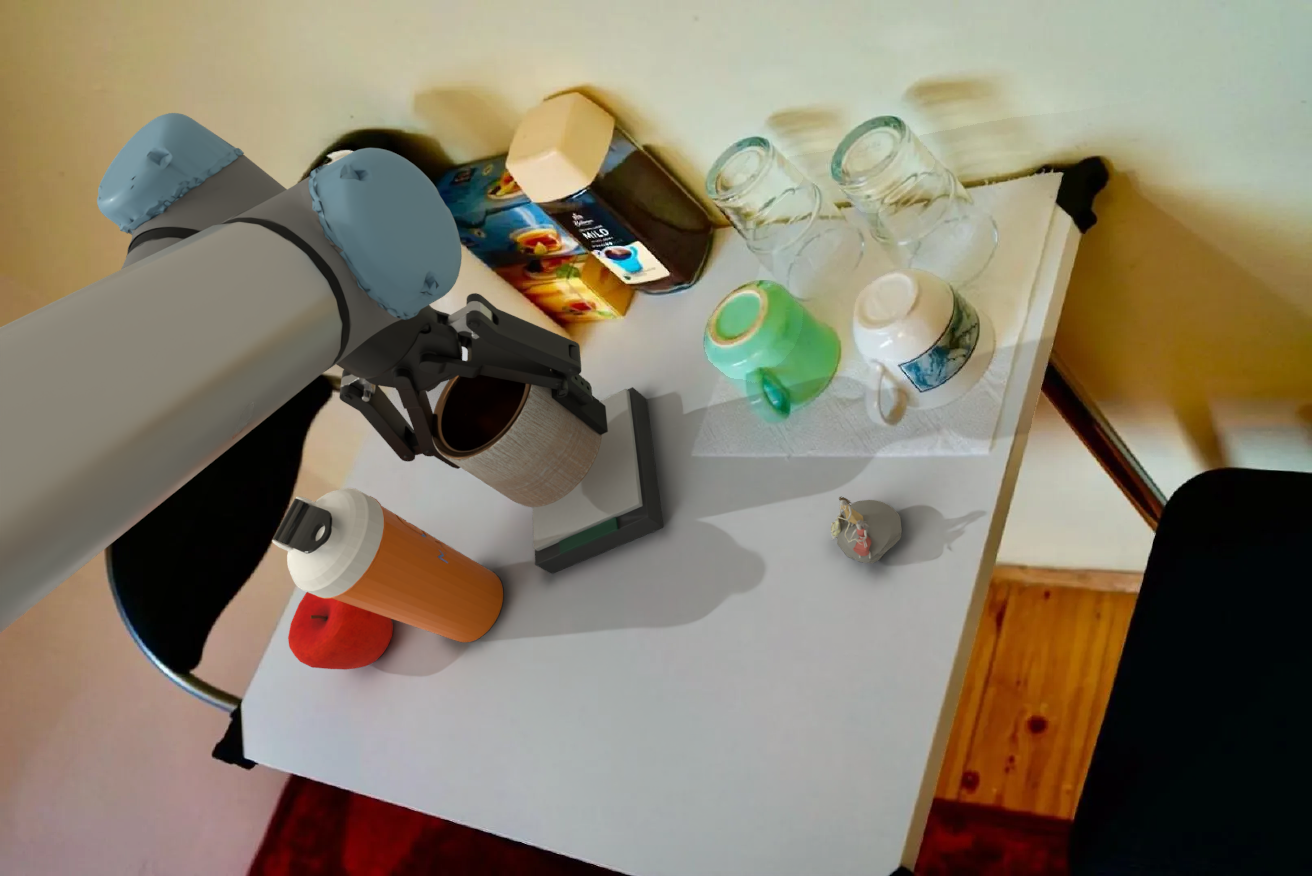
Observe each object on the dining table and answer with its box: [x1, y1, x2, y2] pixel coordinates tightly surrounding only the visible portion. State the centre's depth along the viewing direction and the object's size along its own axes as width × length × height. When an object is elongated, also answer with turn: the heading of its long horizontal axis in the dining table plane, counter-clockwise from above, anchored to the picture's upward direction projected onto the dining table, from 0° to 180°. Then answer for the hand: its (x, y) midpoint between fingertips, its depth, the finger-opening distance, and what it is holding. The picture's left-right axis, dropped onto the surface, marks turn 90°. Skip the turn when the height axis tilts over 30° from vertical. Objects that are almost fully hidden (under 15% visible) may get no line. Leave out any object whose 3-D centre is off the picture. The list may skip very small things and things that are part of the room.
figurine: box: [830, 495, 903, 564], centre depth 62 cm, size 5×4×6 cm
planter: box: [432, 369, 602, 508], centre depth 74 cm, size 11×11×10 cm
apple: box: [287, 591, 394, 671], centre depth 87 cm, size 9×9×8 cm
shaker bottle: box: [271, 487, 504, 643], centre depth 77 cm, size 9×9×20 cm
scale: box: [531, 386, 664, 575], centre depth 81 cm, size 14×12×3 cm
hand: (548, 447), depth 77 cm, fingers closed on planter, 11 cm apart
